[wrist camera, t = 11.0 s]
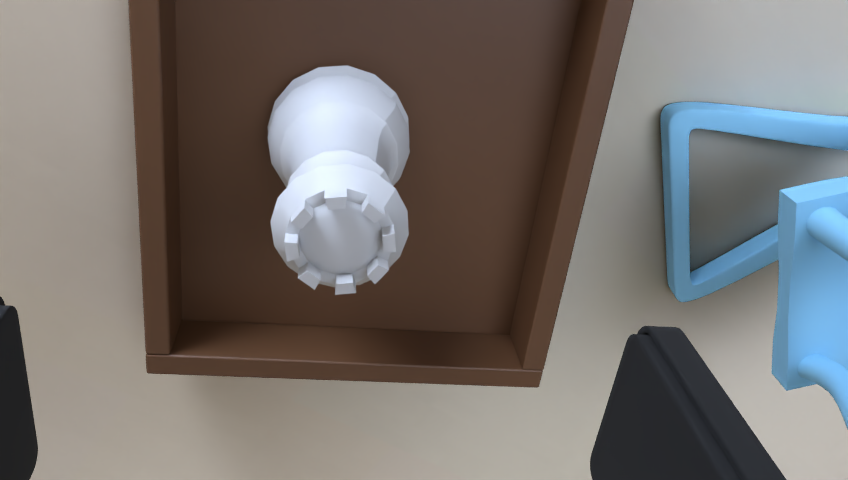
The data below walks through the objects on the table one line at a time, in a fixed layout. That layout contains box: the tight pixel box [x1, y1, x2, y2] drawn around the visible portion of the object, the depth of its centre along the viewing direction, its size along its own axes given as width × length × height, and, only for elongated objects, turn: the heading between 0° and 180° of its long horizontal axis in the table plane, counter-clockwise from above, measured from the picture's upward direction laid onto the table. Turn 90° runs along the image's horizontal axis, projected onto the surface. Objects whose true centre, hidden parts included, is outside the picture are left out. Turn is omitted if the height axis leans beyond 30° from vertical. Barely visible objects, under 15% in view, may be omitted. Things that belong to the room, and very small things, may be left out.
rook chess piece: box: [268, 65, 410, 295], centre depth 20 cm, size 4×4×8 cm
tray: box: [128, 0, 634, 388], centre depth 23 cm, size 18×14×3 cm
